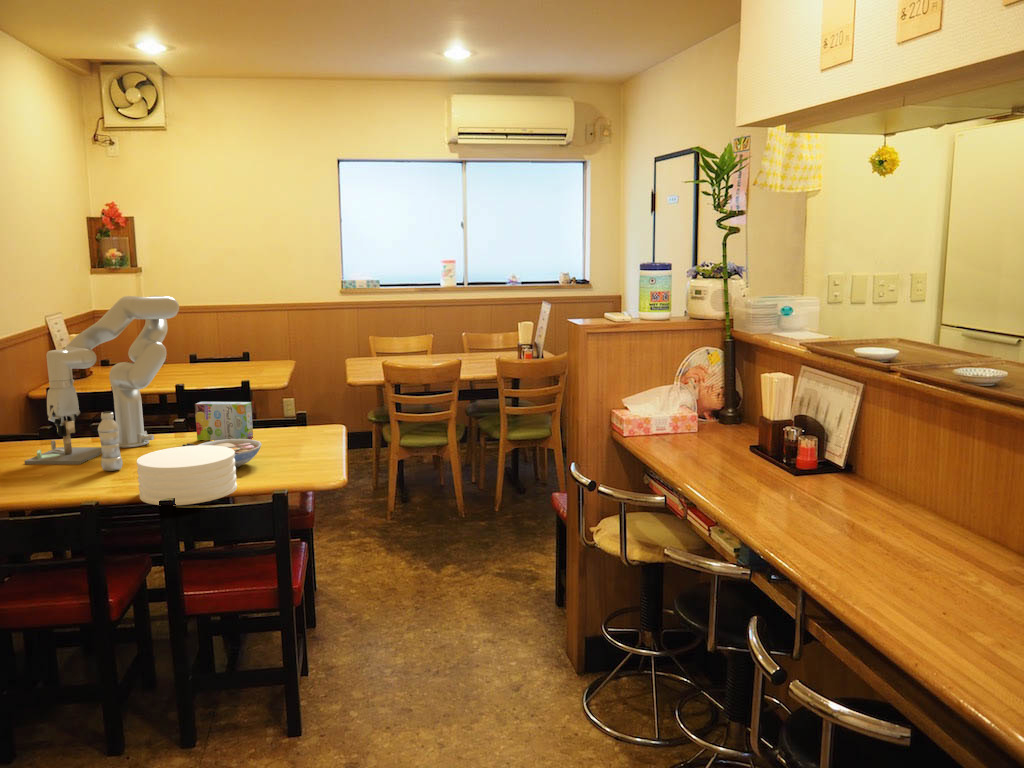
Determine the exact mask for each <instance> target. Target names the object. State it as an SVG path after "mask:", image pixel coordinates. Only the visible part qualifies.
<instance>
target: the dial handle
mask: <svg viewBox="0 0 1024 768" xmlns="http://www.w3.org/2000/svg"><path fill="white" fill-rule="evenodd" d="M64 425H65V426H66V436H62V440H63V441H62V442H63V447H64V450H61V449H56V448H57V444H56V440H50V445H51V450H52V451H57V452H65V454H71V453H72V447H73V445H72V437H71V434H70V433H74V434H75V433H76V428H75V427H76V426H75V423H74V421H66V420H65V419H64ZM56 429H57V428H56ZM56 432H57V433H58V429H57V430H56Z"/></svg>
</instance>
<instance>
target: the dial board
mask: <svg viewBox="0 0 1024 768" xmlns="http://www.w3.org/2000/svg"><path fill="white" fill-rule="evenodd" d="M56 449H61V450H64V446H63V447H61V446H60V447H56ZM100 454H102V447H95V446H93V447H91V446H90V447H88V446H85V447H84V446H83V447H79V446H78V447H77V446H76V447H74V446H72V453H71V454H65V452H57V451H52V449H51V450H48V451H45V452H43V453H42V449H38V450H37V451H36V456H33V457H31V458H28V459H25V460H24V461H23V462H24V465H81V463H82V464H84V463H86V462H88V461H87V460H89V461H90V459H91V460H92V458H93V459H95V458H97V457H99V455H100ZM96 456H97V457H96ZM100 456H101V455H100ZM94 457H95V458H94ZM85 461H86V462H85ZM83 462H84V463H83Z"/></svg>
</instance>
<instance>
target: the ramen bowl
mask: <svg viewBox="0 0 1024 768" xmlns="http://www.w3.org/2000/svg"><path fill="white" fill-rule="evenodd" d="M195 445H196V444H193V443H189V442H188V443H186V444H181V447H182V446H195ZM198 445H215V446H224V447H228V448H231V449H233V450H234V451H235V457H234V458H235V467H236V469H237V467H238V468H239V467H241V466H242V465H245V464H247V463H249V462H250V461H252V460H253V458H254V457H256V455H257V454H258V452H259V451H260V449H261V447H262V442H261V441H259V440H256V439H253V440H252V439H225V440H216V441H204V442H203V443H199V444H198Z"/></svg>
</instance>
